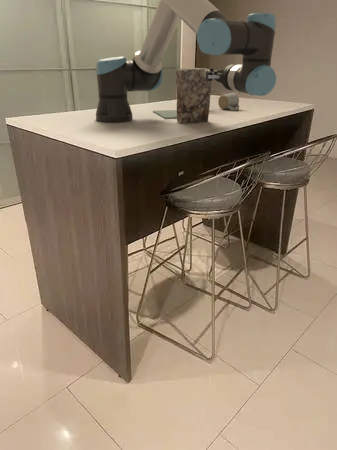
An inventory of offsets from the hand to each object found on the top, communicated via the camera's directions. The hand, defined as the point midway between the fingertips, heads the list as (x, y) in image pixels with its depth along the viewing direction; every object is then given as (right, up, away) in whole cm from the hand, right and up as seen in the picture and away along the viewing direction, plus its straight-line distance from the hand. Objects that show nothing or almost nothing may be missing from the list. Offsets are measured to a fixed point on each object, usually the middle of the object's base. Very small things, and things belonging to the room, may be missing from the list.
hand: (206, 73), depth 122 cm
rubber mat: (-10, -4, +34) cm, 35 cm away
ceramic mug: (+17, +4, +51) cm, 54 cm away
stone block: (-4, -12, +18) cm, 22 cm away
